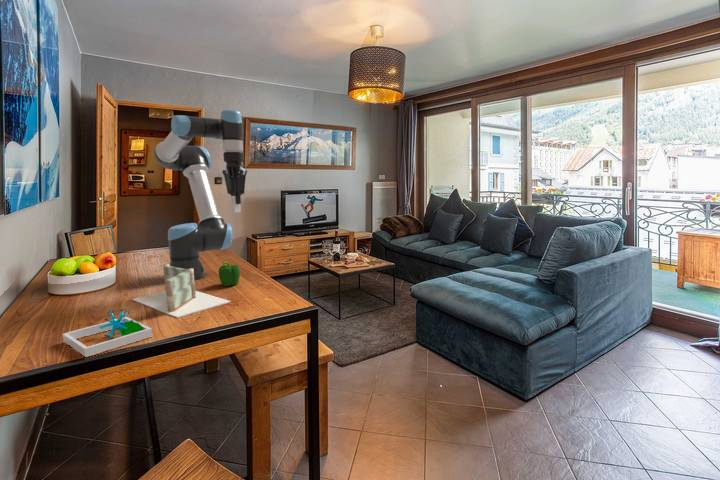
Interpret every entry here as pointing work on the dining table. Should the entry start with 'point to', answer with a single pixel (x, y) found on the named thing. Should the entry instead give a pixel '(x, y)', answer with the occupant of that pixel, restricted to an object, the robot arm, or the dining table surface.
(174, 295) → the folding fence panel
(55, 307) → the dining table surface
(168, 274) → the fixed fence section
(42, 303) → the dining table surface
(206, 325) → the dining table surface
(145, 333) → the grey storage tray
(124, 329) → the stick construction toy
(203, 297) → the card
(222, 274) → the bell pepper
